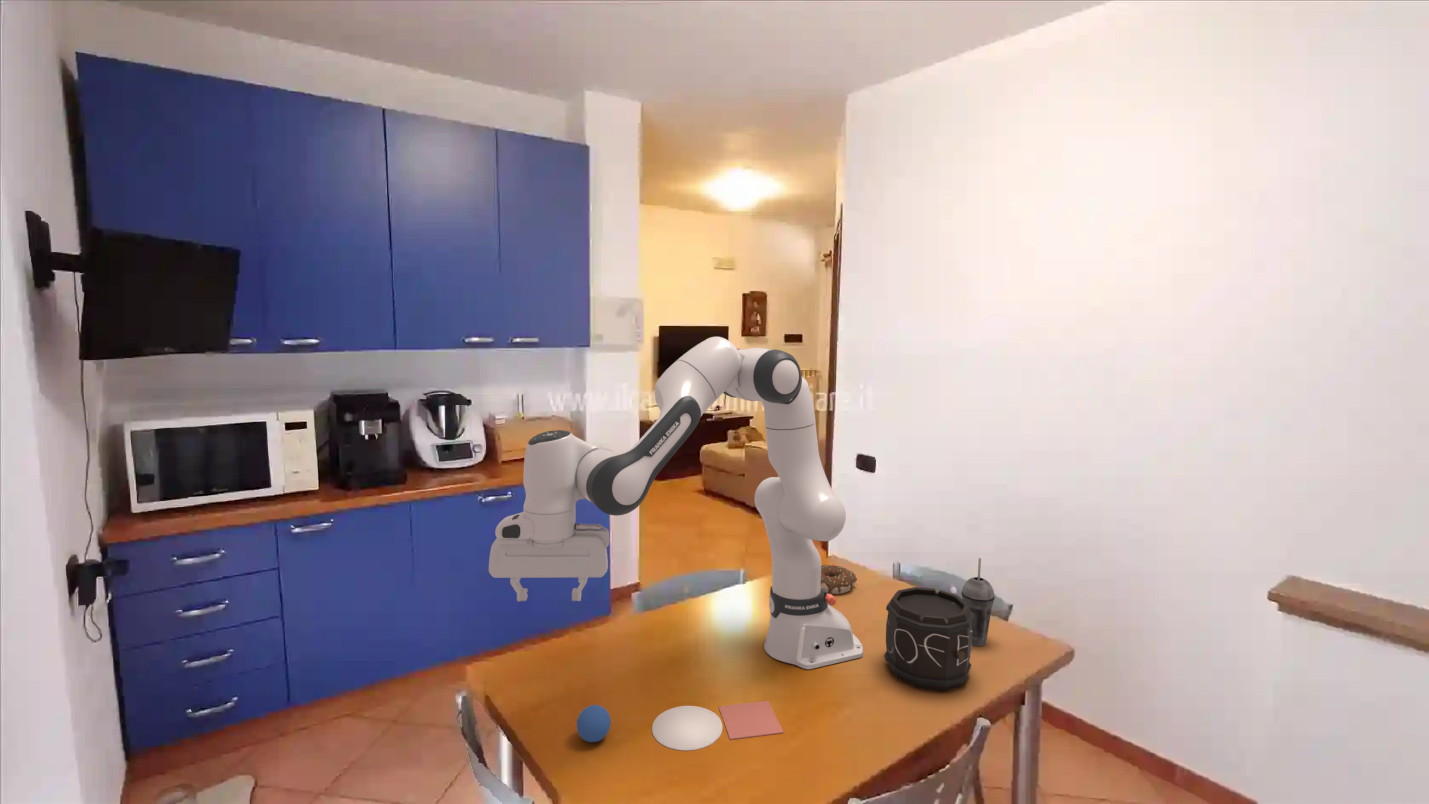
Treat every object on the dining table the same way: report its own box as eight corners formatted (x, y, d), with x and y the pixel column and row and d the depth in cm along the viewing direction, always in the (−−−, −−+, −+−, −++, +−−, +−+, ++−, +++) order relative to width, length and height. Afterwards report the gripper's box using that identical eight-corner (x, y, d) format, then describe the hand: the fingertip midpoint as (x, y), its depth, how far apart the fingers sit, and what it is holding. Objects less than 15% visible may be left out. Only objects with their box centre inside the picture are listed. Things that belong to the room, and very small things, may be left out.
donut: (846, 601, 174) (847, 583, 173) (799, 590, 181) (800, 573, 180) (862, 583, 186) (863, 566, 185) (818, 574, 193) (818, 558, 192)
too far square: (768, 701, 127) (768, 700, 127) (783, 733, 117) (783, 732, 117) (718, 707, 125) (718, 706, 125) (730, 739, 115) (730, 738, 115)
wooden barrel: (924, 704, 126) (927, 628, 124) (868, 660, 143) (870, 593, 141) (992, 684, 133) (996, 612, 132) (931, 644, 150) (934, 580, 148)
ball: (610, 726, 119) (609, 696, 118) (611, 747, 113) (611, 715, 112) (577, 730, 117) (576, 700, 117) (576, 751, 112) (576, 719, 111)
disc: (714, 703, 126) (714, 702, 126) (729, 745, 113) (729, 744, 113) (648, 710, 124) (648, 710, 124) (656, 755, 111) (656, 753, 111)
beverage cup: (958, 645, 149) (962, 563, 147) (959, 631, 156) (963, 552, 154) (992, 651, 147) (997, 567, 144) (991, 637, 153) (996, 557, 151)
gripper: (611, 518, 116) (610, 592, 117) (495, 518, 114) (495, 593, 115) (608, 529, 110) (607, 607, 111) (485, 529, 108) (486, 607, 109)
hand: (549, 599), depth 113 cm, fingers open, 8 cm apart
